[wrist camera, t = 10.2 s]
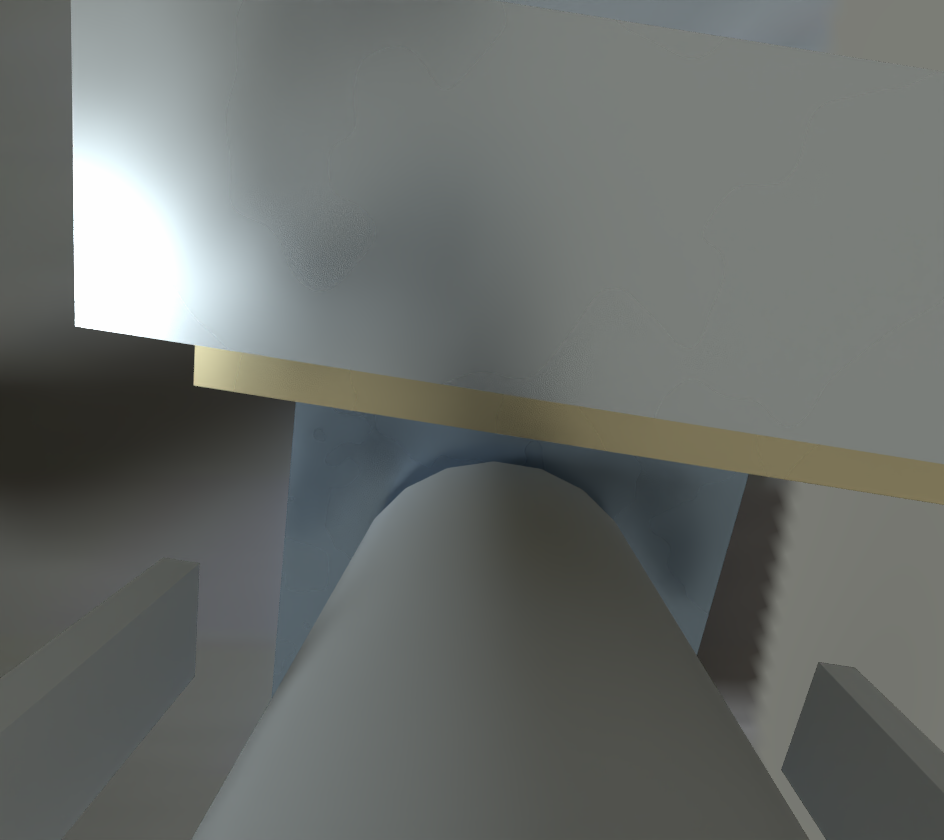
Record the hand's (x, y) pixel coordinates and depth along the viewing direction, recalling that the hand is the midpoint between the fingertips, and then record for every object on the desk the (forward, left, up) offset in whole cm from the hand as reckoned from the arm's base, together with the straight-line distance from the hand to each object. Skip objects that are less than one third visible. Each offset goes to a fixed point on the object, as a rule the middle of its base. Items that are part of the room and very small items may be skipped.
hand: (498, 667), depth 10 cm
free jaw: (-8, 0, -3) cm, 8 cm away
